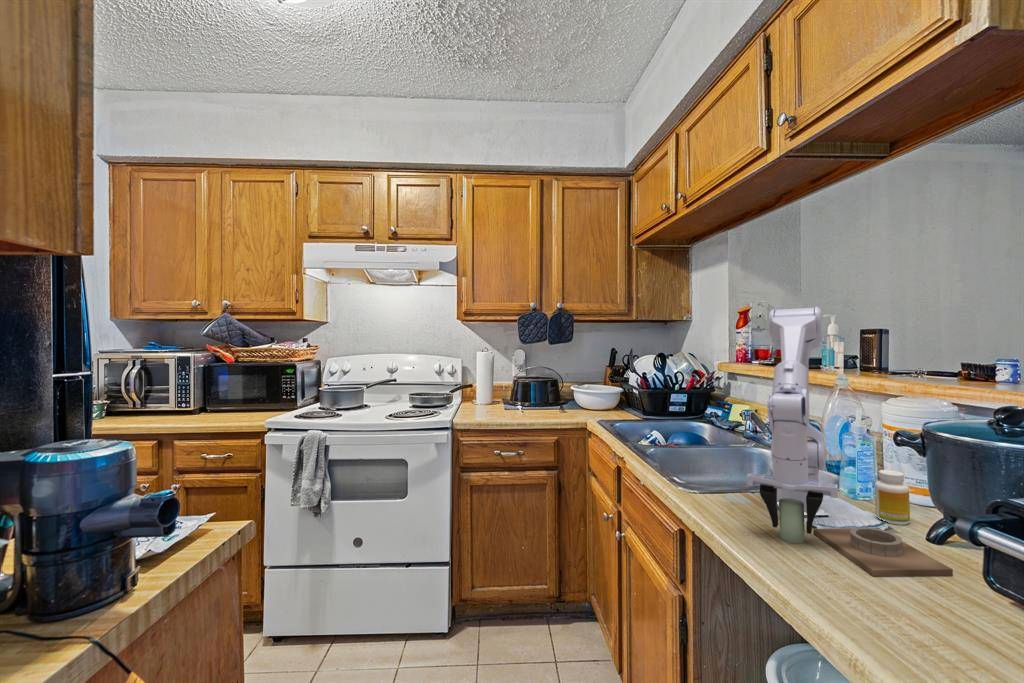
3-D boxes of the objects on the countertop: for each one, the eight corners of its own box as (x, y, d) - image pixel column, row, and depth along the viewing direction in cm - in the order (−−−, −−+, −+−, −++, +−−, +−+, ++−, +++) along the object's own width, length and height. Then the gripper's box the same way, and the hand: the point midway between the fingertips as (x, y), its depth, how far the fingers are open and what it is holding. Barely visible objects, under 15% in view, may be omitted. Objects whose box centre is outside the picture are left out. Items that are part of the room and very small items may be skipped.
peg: (776, 534, 90) (774, 498, 90) (797, 534, 90) (796, 498, 90) (787, 543, 86) (785, 505, 86) (809, 543, 86) (808, 505, 86)
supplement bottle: (916, 526, 92) (915, 476, 92) (885, 524, 93) (883, 476, 93) (899, 515, 97) (898, 468, 97) (870, 514, 98) (868, 468, 98)
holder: (813, 533, 90) (813, 518, 90) (878, 532, 89) (877, 517, 89) (873, 576, 74) (872, 557, 74) (952, 575, 73) (952, 556, 73)
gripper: (743, 456, 89) (745, 527, 89) (836, 467, 80) (838, 545, 81) (749, 448, 95) (752, 515, 95) (837, 457, 86) (839, 531, 86)
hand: (792, 528), depth 88 cm, fingers open, 5 cm apart
